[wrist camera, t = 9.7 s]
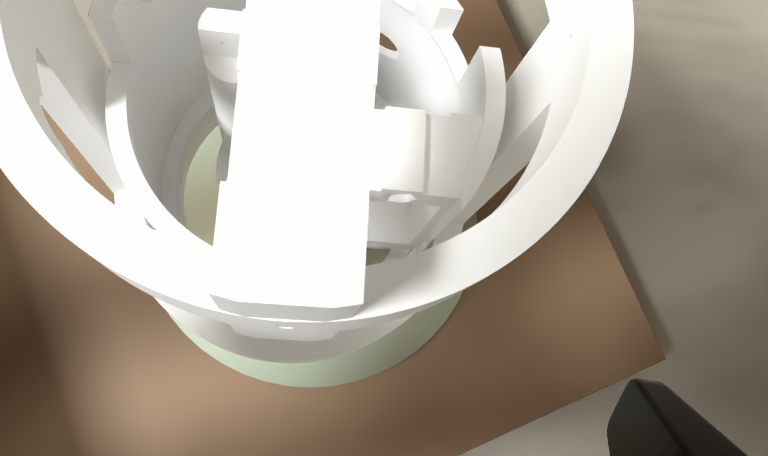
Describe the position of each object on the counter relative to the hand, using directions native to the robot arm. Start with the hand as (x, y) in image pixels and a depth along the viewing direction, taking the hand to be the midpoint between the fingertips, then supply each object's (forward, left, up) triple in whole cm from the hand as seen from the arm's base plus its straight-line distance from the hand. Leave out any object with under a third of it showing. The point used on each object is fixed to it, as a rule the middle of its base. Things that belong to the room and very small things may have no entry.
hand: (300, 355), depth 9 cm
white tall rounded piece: (+3, -1, -11) cm, 12 cm away
